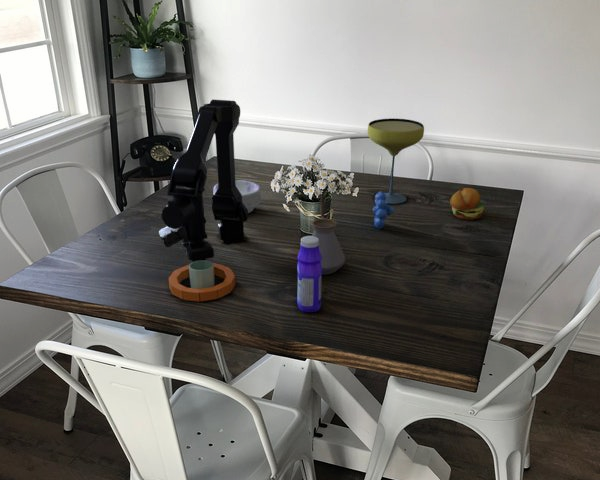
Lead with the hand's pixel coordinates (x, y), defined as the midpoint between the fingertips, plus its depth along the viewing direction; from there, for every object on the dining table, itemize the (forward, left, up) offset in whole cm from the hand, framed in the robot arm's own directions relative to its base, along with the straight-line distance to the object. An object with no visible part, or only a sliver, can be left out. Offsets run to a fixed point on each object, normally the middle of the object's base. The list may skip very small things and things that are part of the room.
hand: (197, 269), depth 162 cm
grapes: (-59, -13, -2) cm, 60 cm away
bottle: (-22, +25, -2) cm, 33 cm away
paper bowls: (-21, -42, -2) cm, 47 cm away
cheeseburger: (-89, -14, -2) cm, 90 cm away
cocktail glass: (-73, -36, -2) cm, 81 cm away
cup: (0, +7, -1) cm, 7 cm away
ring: (0, +7, -1) cm, 7 cm away
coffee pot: (-34, +2, -2) cm, 34 cm away
